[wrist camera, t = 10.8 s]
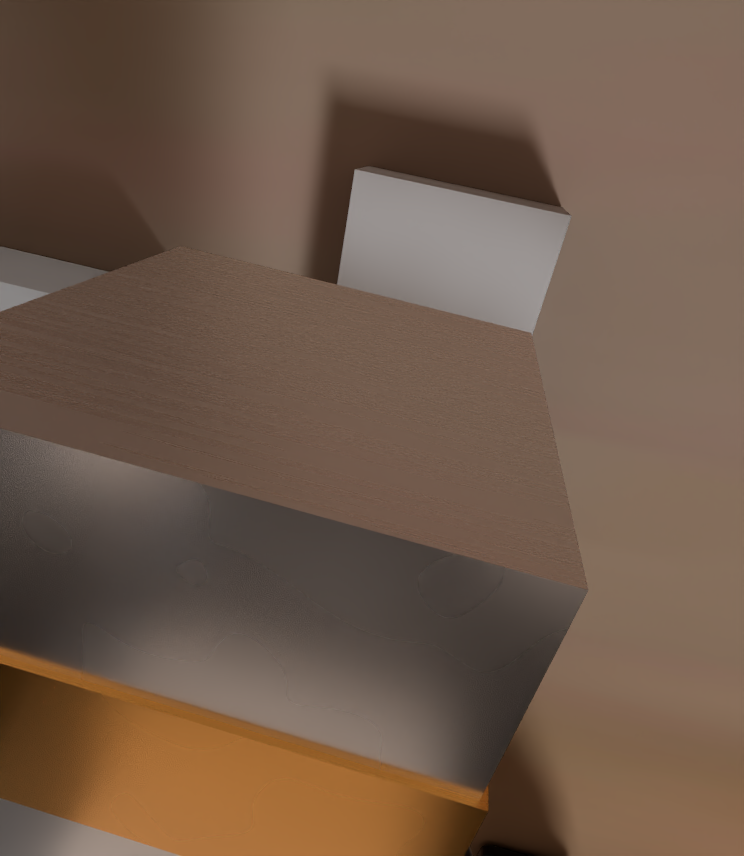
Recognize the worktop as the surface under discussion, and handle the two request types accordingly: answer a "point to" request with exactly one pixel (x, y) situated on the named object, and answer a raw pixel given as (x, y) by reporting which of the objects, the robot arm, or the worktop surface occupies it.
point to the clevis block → (450, 247)
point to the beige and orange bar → (267, 565)
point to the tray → (36, 276)
